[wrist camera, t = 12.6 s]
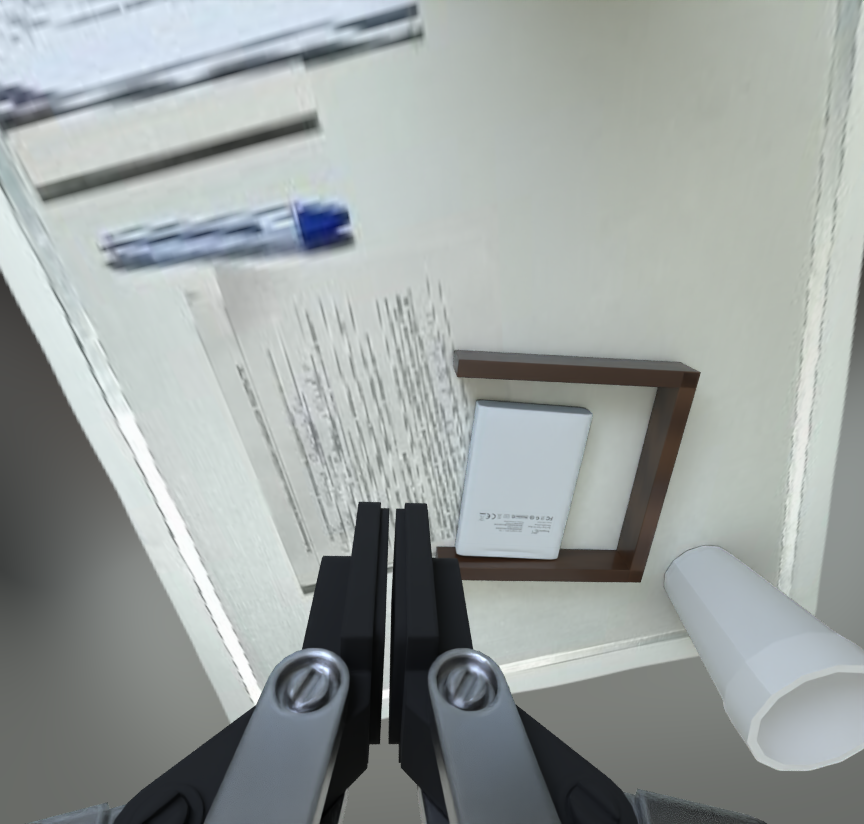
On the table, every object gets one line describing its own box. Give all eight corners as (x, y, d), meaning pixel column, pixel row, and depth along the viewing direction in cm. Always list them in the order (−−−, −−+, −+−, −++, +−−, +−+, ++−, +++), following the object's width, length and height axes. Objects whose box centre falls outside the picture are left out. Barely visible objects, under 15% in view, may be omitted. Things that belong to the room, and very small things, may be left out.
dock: (454, 349, 33) (458, 359, 30) (680, 361, 34) (701, 372, 32) (435, 558, 39) (437, 580, 37) (627, 562, 40) (640, 582, 38)
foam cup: (715, 627, 44) (835, 781, 32) (627, 605, 42) (719, 759, 30) (774, 544, 41) (932, 680, 29) (681, 517, 39) (808, 649, 27)
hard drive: (586, 406, 35) (552, 548, 39) (475, 398, 34) (454, 543, 39) (594, 415, 33) (559, 561, 38) (479, 406, 33) (456, 556, 37)
